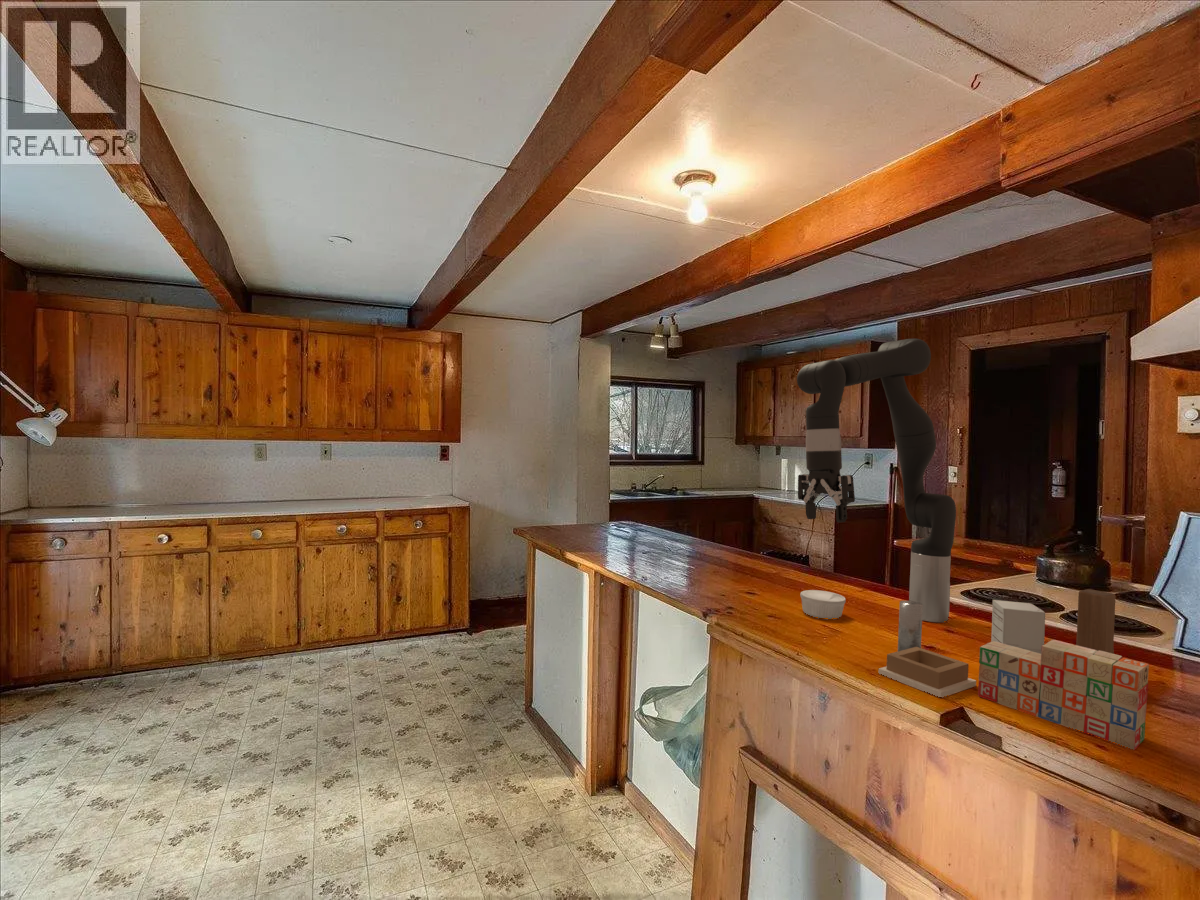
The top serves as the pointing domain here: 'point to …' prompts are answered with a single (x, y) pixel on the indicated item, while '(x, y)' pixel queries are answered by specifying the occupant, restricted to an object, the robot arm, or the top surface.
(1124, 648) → the top surface
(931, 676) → the cradle
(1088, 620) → the wooden block
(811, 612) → the ramekin
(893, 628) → the top surface
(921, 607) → the axle
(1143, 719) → the stack of blocks
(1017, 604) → the supplement box
